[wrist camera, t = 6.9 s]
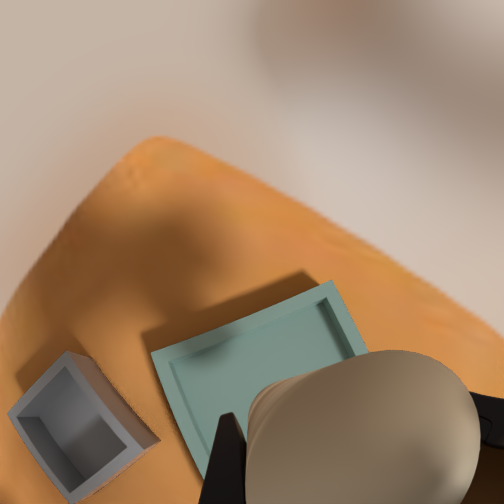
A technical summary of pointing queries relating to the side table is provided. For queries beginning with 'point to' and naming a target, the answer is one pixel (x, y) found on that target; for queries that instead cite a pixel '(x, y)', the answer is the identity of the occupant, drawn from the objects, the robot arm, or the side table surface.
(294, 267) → the side table surface
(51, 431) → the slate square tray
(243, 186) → the side table surface
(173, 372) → the green-grey tray
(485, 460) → the robot arm
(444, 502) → the rounded wooden peg
